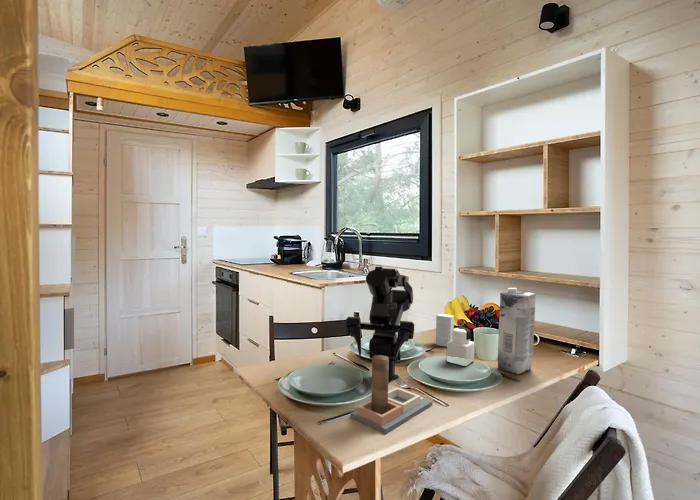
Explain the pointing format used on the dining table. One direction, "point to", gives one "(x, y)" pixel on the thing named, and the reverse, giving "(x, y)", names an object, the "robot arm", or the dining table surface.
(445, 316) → the skincare box
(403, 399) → the board
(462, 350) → the medicine bottle
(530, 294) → the juice carton
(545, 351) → the dining table surface
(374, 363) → the walnut pin
